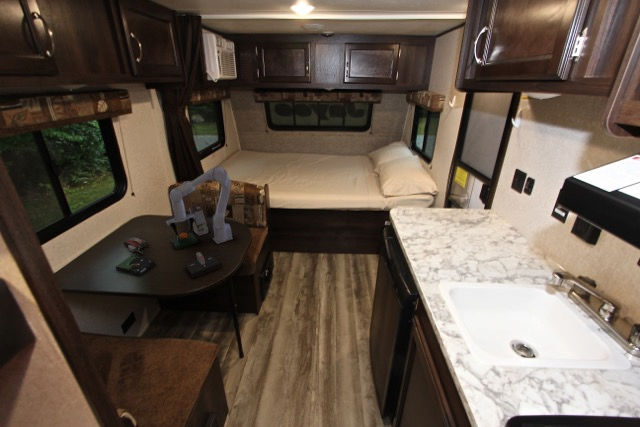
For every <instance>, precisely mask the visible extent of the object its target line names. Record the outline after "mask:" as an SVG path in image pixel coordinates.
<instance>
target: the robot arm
mask: <svg viewBox="0 0 640 427" xmlns="http://www.w3.org/2000/svg"><path fill="white" fill-rule="evenodd" d="M207 181H211V182H212V181H213V182H214V181H216V182H218V183H219V184H220V186H221V189H220V193H219V198H218V202H217V206H216V210H215V213H214V214H213V215H212V229H213V236H214V237H212V240H213V241H214V242H215V243H216V244H217V245H219V244H222V243H225V242H228V241H231V240H233V239H234V237H233V234H232V233H233V232H232V228H231V225H230V224H229V223H225V216H226V210H227V206H228V201H229V197H230V194H231V189H232V181H231V179H230V176H229V175H228V171H227V170H226V169H225V168H224V167H223V166H222V165H216V166H214V167H212V168H210V169H208V170H207V171H205V172H204V173H202V174H201V175H199V176H197V177H196V178H195V179H193V180H192V181H189V180H187V181H184V182H182V184H181V185H179V186H176V187H175V188H173V189H171V190H170V193H169V199H170V201H171V206H172V212H173V218H170V219H168V220H166V225H167V226H170V227H171V228H172V230H173V232H174V234H175V236H179V232H178V229H177V225H176V223H180V222H182V223H183V222H186V221H187V225H188V230H189V231H190V232H192V231H193V222H194V219H193V218H195V215H194V214H190V213H189V214H187V213H186V207H185V204H184V201H183V200H184V199H183V198H184V197H186V196H187V195H189V194H191V193H192V192H194V191H195V190H196V187H198V186H200V185H201V184H204V183H205V182H207Z"/></svg>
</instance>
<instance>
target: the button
mask: <svg viewBox="0 0 640 427" xmlns="http://www.w3.org/2000/svg"><path fill="white" fill-rule="evenodd" d="M187 234H188V233H187V232H182V233H180V234H178V236H180V238H181V239H184V238H186V237H187Z"/></svg>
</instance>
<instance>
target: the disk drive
mask: <svg viewBox="0 0 640 427" xmlns="http://www.w3.org/2000/svg"><path fill="white" fill-rule="evenodd" d="M155 265H156V261H155V260H153V259H149V258H144V257H141V256H136V255H135V256H134V255H131V256H129V257H128V258H126V259H124V260H123V261H122V262H120V263H119V264H116V265H115V267H114V268H115V270H116V271H118V272H122V273H125V274H130V275H134V276H138V277H139V276H141V275H143V274H144V273H145V272H147V271H149V270H150V269H151V268H153V267H154V266H155Z"/></svg>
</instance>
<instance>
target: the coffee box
mask: <svg viewBox="0 0 640 427" xmlns="http://www.w3.org/2000/svg"><path fill="white" fill-rule="evenodd" d="M188 210H189V214H194V215H195V218H193V219H194V222H193V225H192V230H193V232H194V233H195V234H196V235H197V236H198V237H200V236H203V235H207V234H209V228H208V221H207V216H206V210H205V209H204V208H203V207H202V206H201V205H200V204H198V205H194V206H190V207H188Z"/></svg>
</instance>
